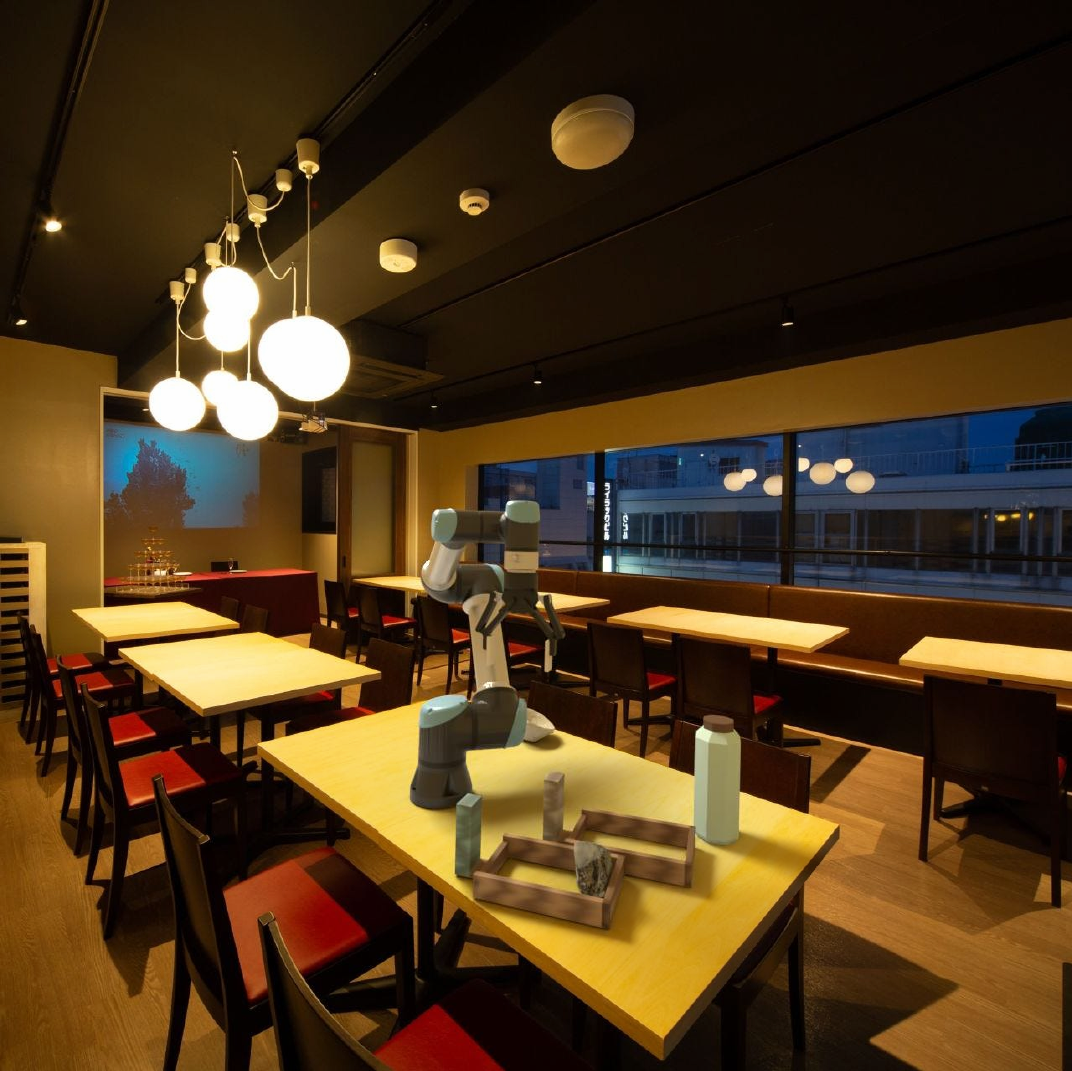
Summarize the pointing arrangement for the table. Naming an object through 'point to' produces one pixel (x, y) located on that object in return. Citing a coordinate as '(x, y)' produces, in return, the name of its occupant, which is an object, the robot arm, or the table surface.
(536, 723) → the bowl
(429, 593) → the robot arm
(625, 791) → the table surface
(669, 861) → the empty lane
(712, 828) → the water bottle
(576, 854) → the stone
